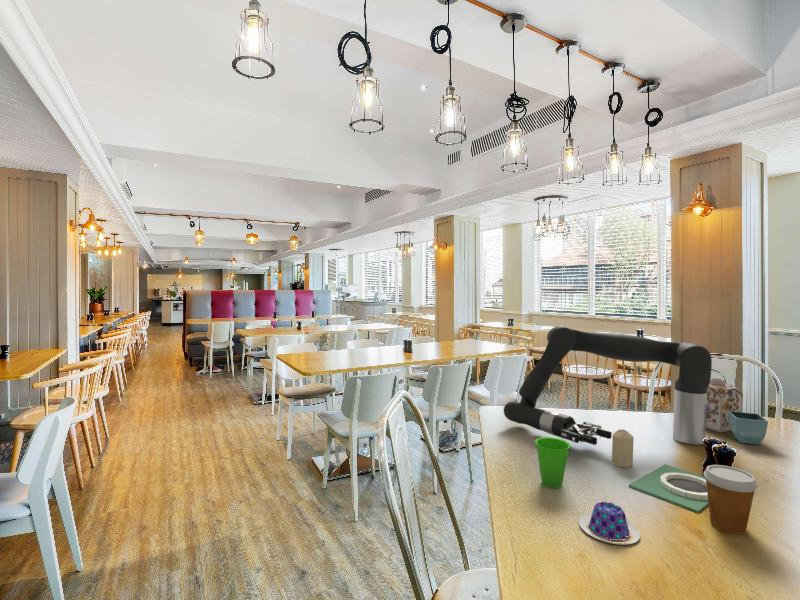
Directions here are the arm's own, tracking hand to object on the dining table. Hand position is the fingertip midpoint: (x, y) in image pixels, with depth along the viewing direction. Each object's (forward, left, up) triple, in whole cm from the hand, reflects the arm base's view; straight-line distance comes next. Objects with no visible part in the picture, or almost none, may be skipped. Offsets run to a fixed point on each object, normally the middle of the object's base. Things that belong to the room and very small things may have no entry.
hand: (603, 438), depth 132 cm
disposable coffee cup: (+14, +36, -6) cm, 39 cm away
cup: (+28, +1, -6) cm, 29 cm away
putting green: (+2, +22, -6) cm, 23 cm away
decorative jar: (-63, +10, -6) cm, 64 cm away
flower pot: (-53, +22, -6) cm, 57 cm away
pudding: (+37, +21, -6) cm, 43 cm away
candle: (0, +6, -6) cm, 8 cm away
